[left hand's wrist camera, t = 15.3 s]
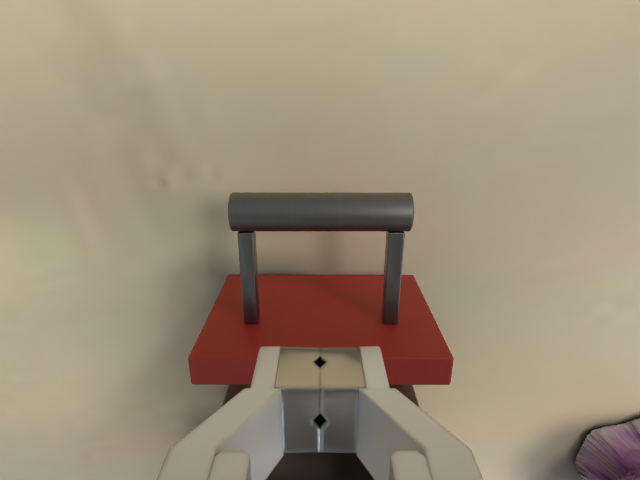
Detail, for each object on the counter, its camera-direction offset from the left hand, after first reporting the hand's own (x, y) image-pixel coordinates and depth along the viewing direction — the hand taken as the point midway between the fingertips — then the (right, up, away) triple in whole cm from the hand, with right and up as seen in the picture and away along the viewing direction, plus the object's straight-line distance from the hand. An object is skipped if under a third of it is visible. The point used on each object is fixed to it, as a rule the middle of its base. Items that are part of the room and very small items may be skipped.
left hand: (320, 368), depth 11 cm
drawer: (0, -3, +13) cm, 13 cm away
